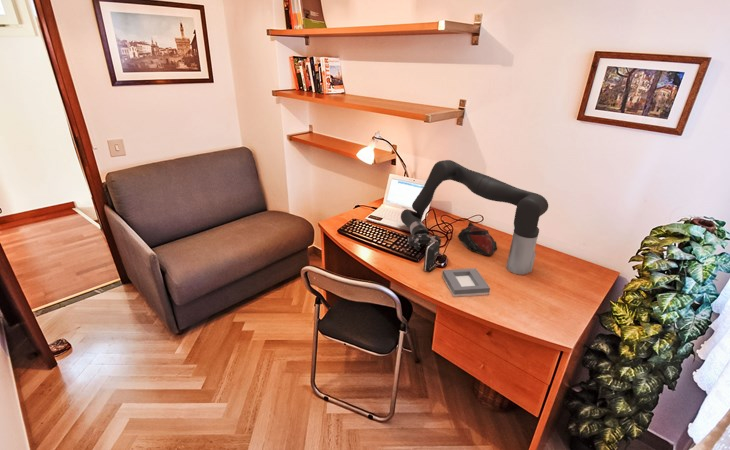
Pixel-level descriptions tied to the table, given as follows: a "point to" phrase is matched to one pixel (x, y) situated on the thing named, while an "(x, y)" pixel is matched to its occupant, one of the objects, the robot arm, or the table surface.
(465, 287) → the tray
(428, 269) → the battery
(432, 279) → the table surface
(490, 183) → the robot arm
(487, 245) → the drone shell
